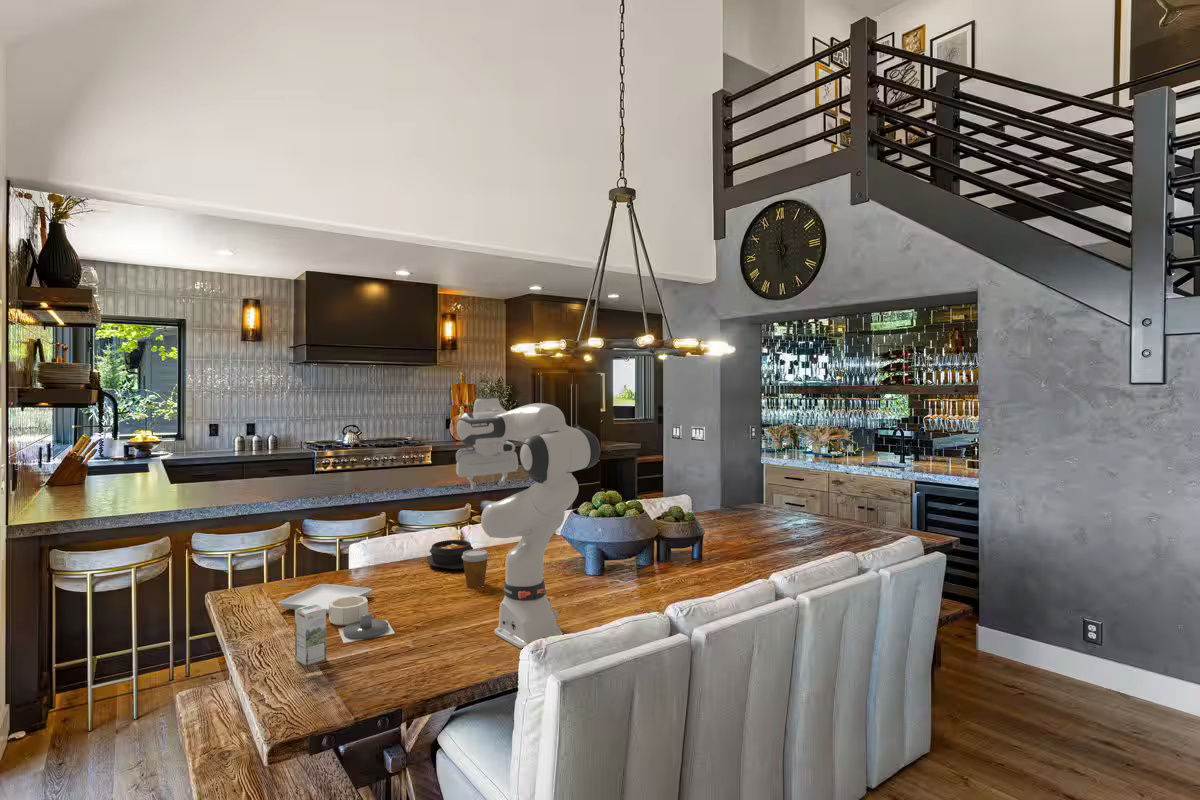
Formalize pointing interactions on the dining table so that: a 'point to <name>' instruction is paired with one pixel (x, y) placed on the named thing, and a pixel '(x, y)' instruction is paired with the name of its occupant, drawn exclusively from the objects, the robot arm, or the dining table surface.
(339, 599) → the bowl
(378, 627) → the lid
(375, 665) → the dining table surface
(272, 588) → the dining table surface
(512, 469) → the robot arm
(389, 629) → the mat
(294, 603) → the salad plate
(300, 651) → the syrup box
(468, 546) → the casserole
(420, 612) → the dining table surface
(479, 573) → the disposable coffee cup
